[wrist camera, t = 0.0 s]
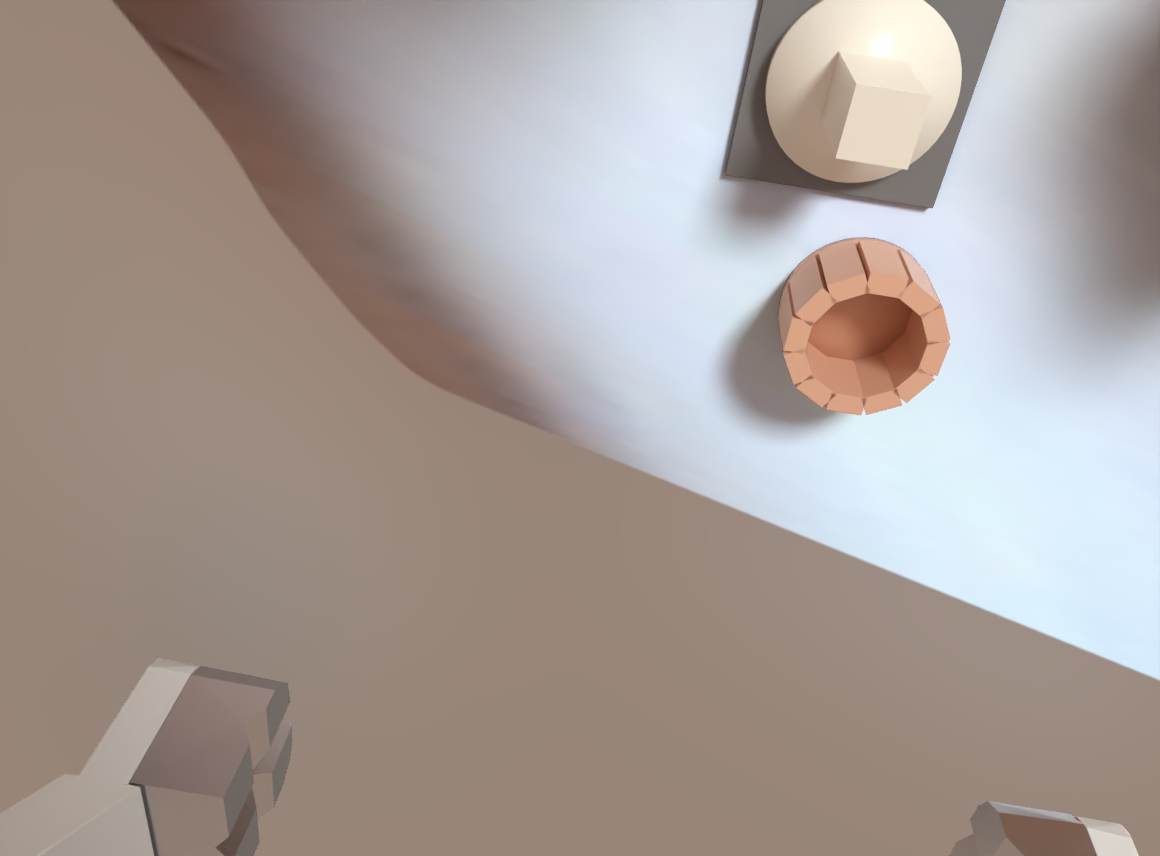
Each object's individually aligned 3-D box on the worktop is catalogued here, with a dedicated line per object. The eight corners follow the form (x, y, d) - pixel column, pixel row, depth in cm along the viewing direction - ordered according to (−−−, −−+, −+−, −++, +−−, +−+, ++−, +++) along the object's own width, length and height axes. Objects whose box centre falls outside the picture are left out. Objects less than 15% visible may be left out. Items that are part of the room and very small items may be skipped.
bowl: (799, 226, 57) (808, 262, 53) (950, 250, 57) (971, 289, 52) (764, 357, 62) (769, 400, 58) (902, 379, 62) (918, 424, 57)
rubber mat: (775, -57, 49) (775, -55, 49) (1009, -20, 49) (1011, -18, 48) (725, 172, 56) (725, 175, 55) (931, 205, 55) (932, 208, 55)
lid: (790, -31, 49) (804, -3, 42) (984, 0, 49) (1029, 32, 42) (746, 160, 55) (753, 211, 48) (921, 188, 55) (951, 243, 48)
